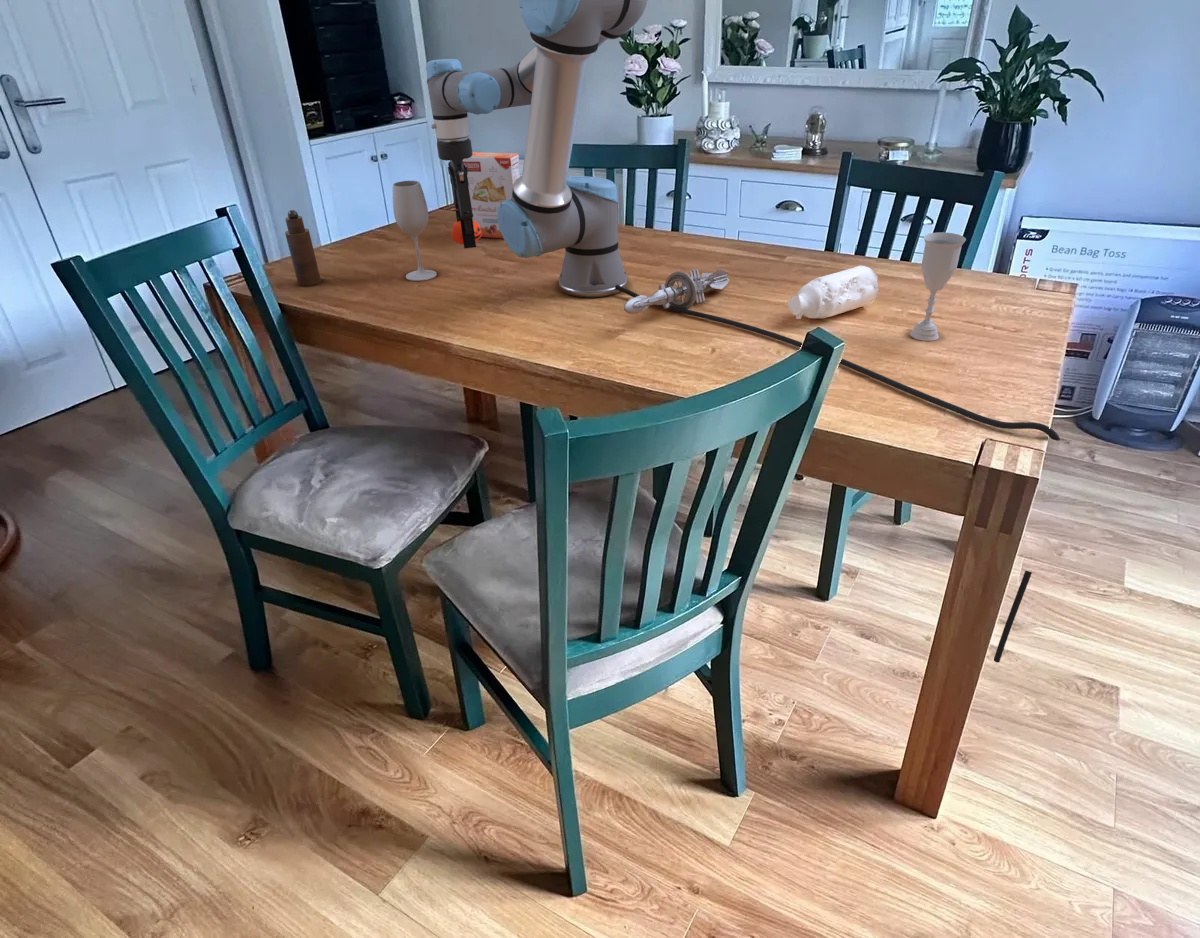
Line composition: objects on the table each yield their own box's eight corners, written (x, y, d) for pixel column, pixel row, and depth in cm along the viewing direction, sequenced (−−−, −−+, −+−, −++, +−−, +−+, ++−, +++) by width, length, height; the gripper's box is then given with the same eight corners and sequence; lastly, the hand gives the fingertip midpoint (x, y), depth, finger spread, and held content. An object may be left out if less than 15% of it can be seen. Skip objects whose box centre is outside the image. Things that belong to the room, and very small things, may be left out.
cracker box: (469, 237, 207) (459, 155, 196) (478, 231, 212) (469, 151, 201) (517, 240, 203) (509, 156, 192) (526, 233, 208) (518, 152, 197)
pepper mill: (325, 281, 181) (308, 209, 172) (305, 287, 177) (286, 214, 168) (313, 277, 184) (296, 206, 175) (293, 283, 180) (275, 210, 171)
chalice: (913, 325, 147) (932, 230, 137) (949, 333, 143) (971, 236, 133) (898, 337, 142) (917, 240, 132) (936, 346, 138) (957, 246, 128)
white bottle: (777, 319, 151) (781, 280, 147) (846, 298, 159) (851, 261, 155) (806, 332, 146) (810, 291, 141) (876, 309, 153) (882, 271, 149)
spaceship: (604, 291, 145) (635, 283, 140) (707, 262, 169) (738, 254, 163) (614, 332, 147) (645, 326, 142) (715, 298, 171) (745, 291, 165)
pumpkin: (484, 238, 184) (480, 210, 181) (481, 247, 177) (477, 219, 174) (454, 239, 184) (450, 212, 181) (450, 249, 177) (446, 220, 174)
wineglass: (434, 280, 178) (419, 187, 167) (401, 281, 179) (385, 188, 167) (440, 270, 185) (426, 179, 173) (409, 270, 185) (393, 180, 174)
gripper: (431, 133, 176) (446, 233, 188) (441, 147, 159) (457, 256, 171) (464, 130, 178) (477, 229, 190) (477, 144, 161) (490, 252, 173)
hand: (467, 242), depth 181 cm, fingers closed on pumpkin, 8 cm apart
